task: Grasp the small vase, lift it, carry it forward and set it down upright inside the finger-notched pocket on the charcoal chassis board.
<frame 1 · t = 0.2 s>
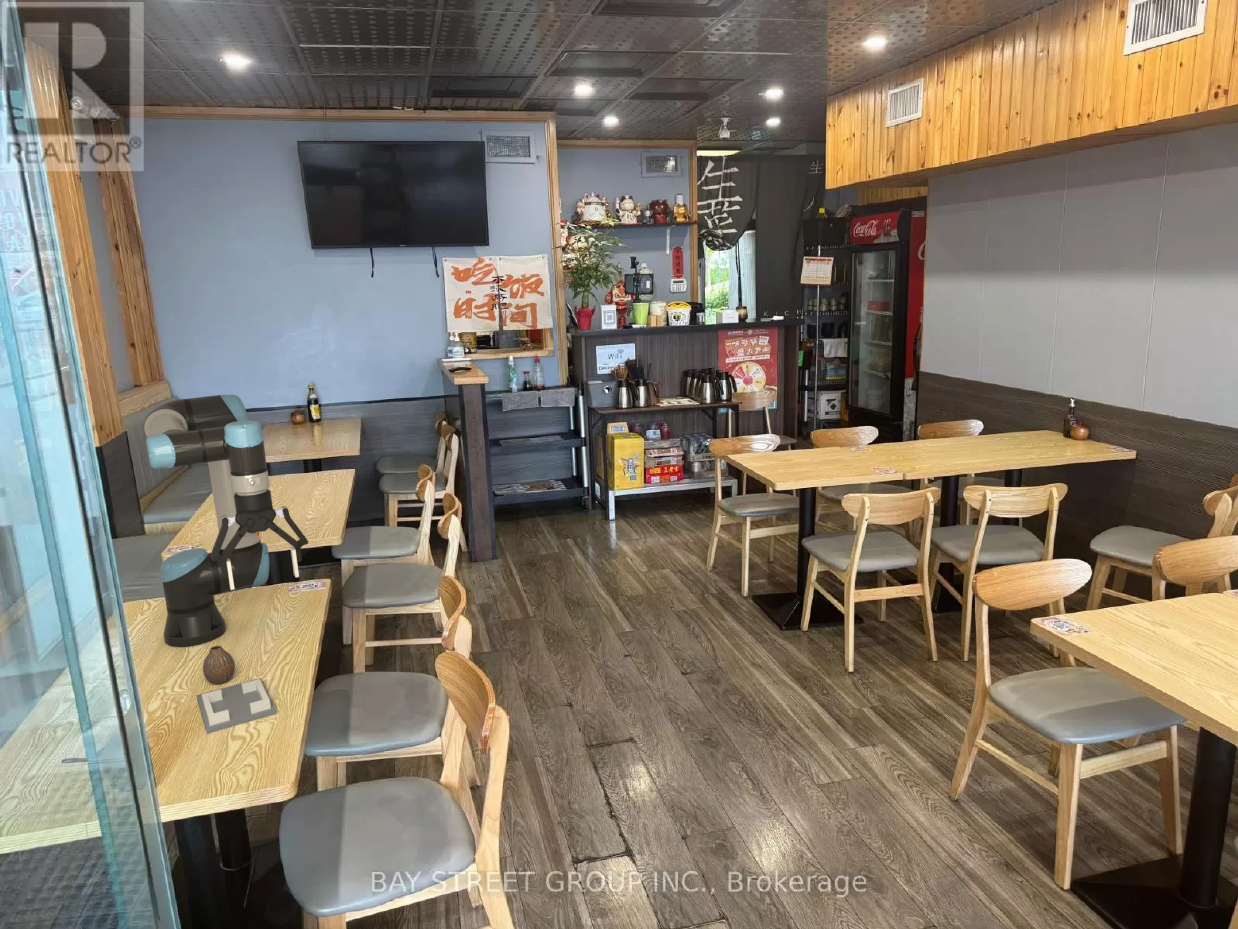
hand: (264, 581, 189), 27 cm above the table, fingers open, 13 cm apart
chassis board: (235, 706, 189), on the table
vase: (221, 681, 201), on the table
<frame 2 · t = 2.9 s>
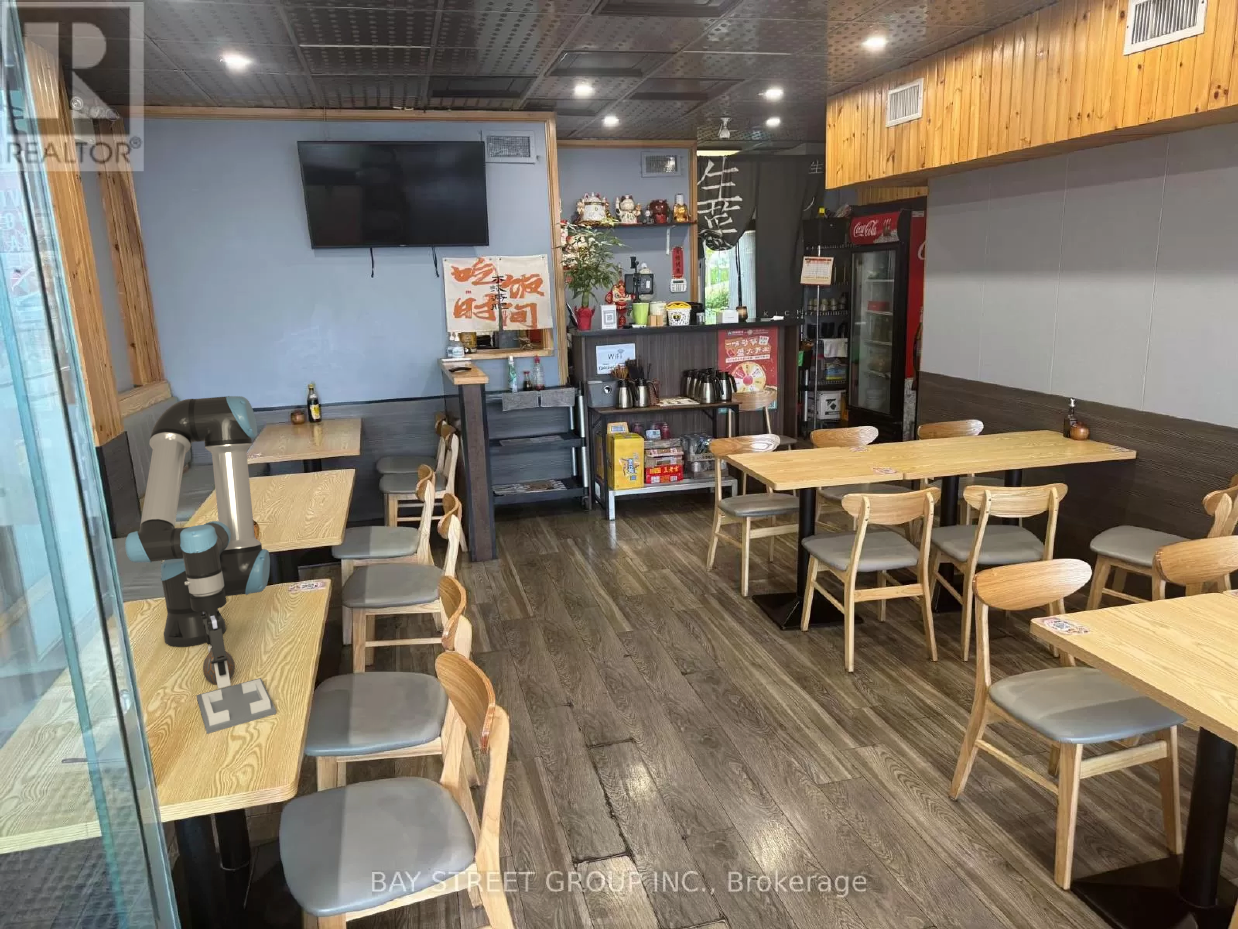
hand: (220, 678, 200), 1 cm above the table, fingers open, 11 cm apart
nothing on the table moved.
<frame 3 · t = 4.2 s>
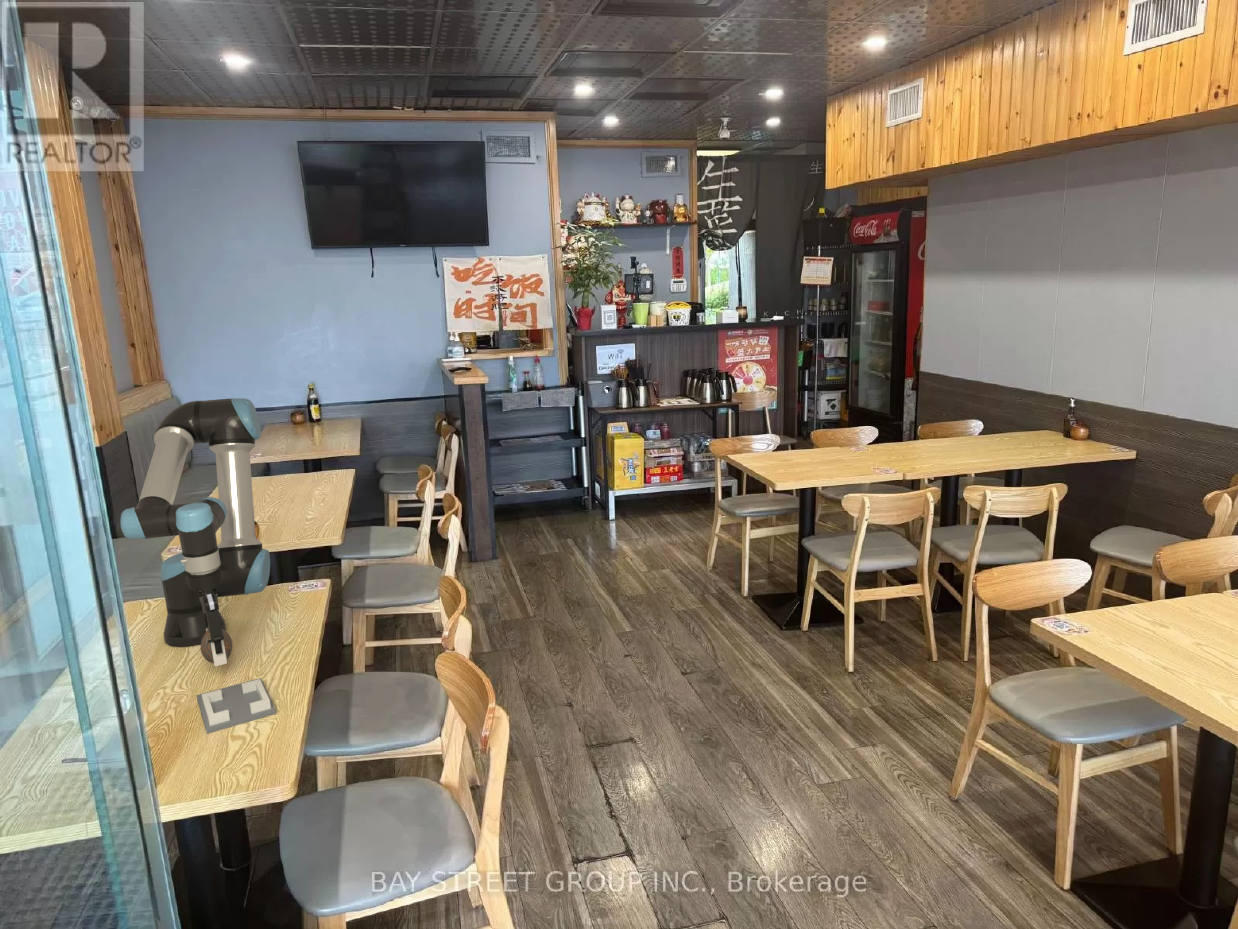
hand: (218, 658, 201), 6 cm above the table, fingers closed on vase, 7 cm apart
vase: (219, 660, 201), point 5 cm above the table, touching gripper
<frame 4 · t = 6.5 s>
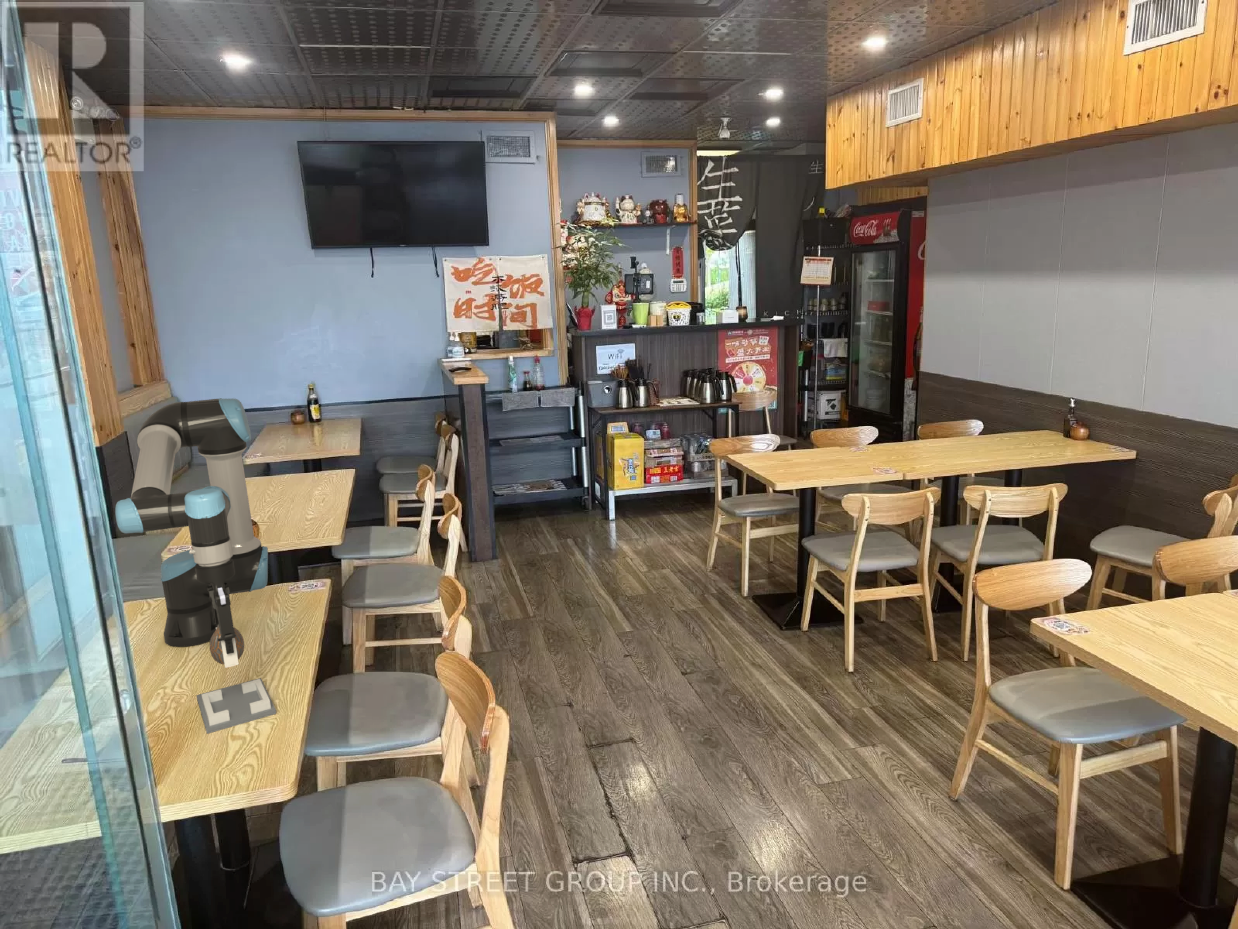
hand: (229, 659, 184), 12 cm above the table, fingers closed on vase, 7 cm apart
vase: (229, 661, 184), point 12 cm above the table, touching gripper
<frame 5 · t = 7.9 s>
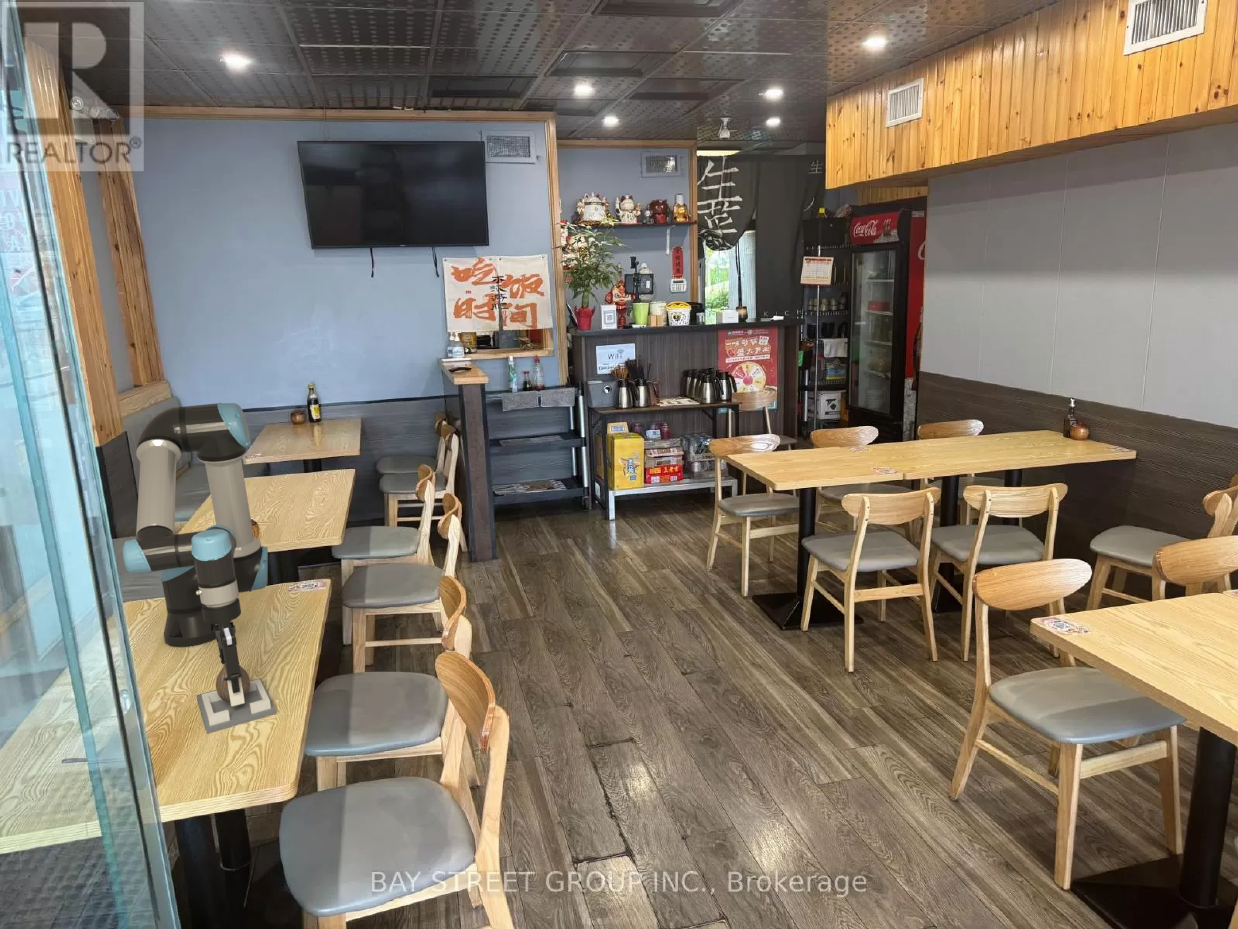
hand: (235, 697, 186), 3 cm above the table, fingers closed on vase, 7 cm apart
vase: (235, 699, 186), point 3 cm above the table, touching gripper
when the fingers open (2 cm above the table, at t = 9.0 s): vase stays where it is, resting on chassis board.
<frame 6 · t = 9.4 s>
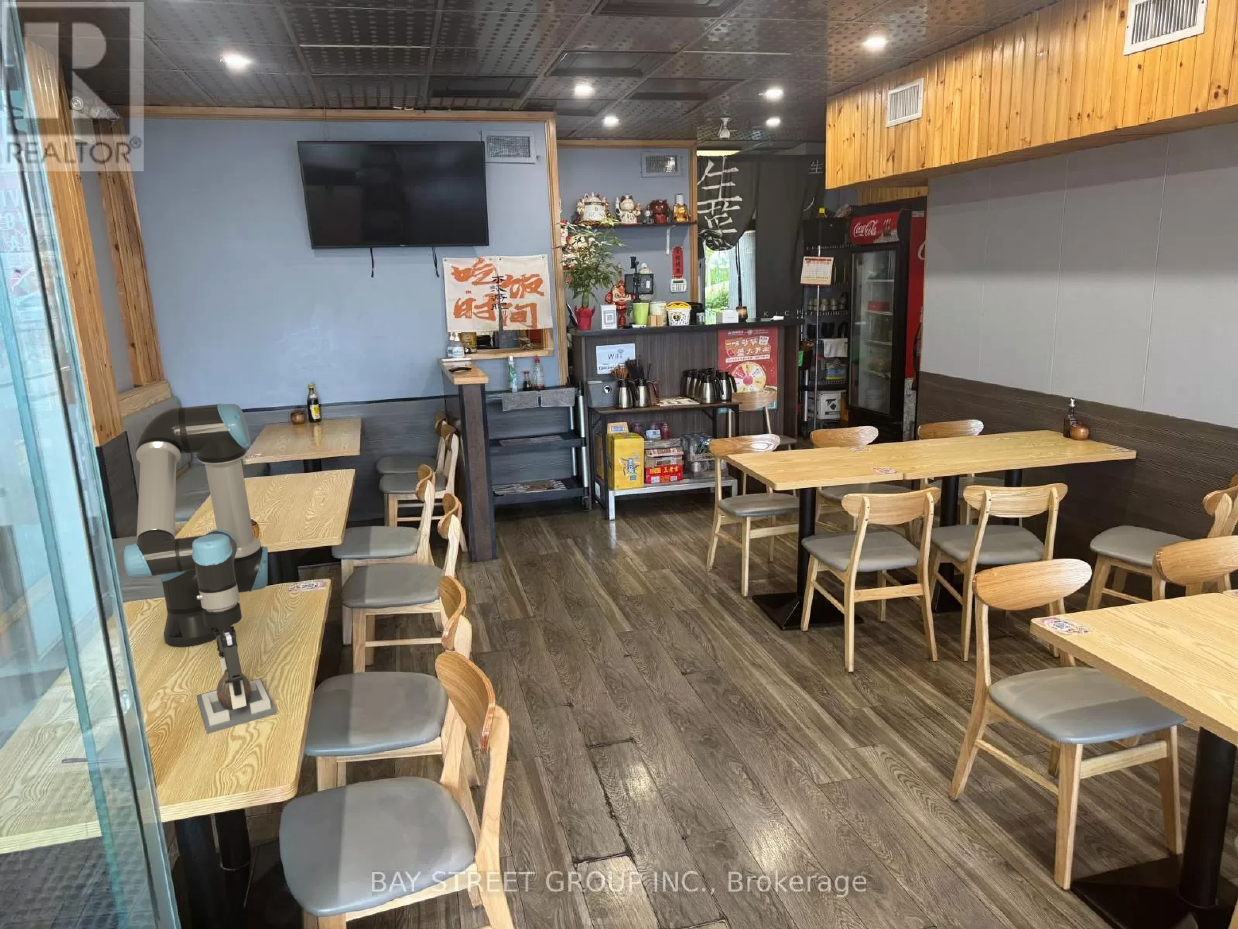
hand: (234, 695, 186), 4 cm above the table, fingers open, 13 cm apart
vase: (236, 706, 187), point 1 cm above the table, touching chassis board
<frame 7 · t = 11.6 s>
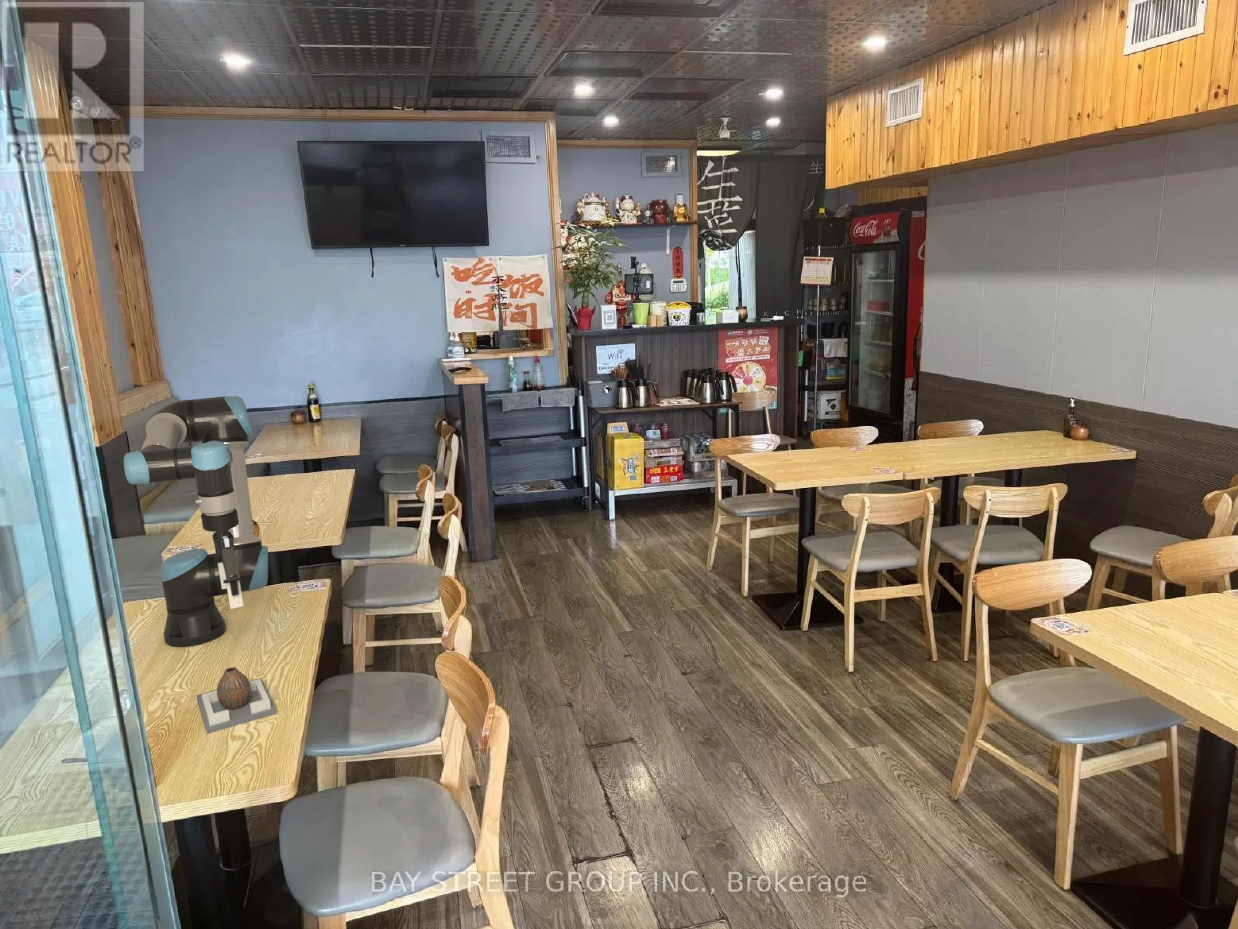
hand: (232, 597, 195), 22 cm above the table, fingers open, 13 cm apart
nothing on the table moved.
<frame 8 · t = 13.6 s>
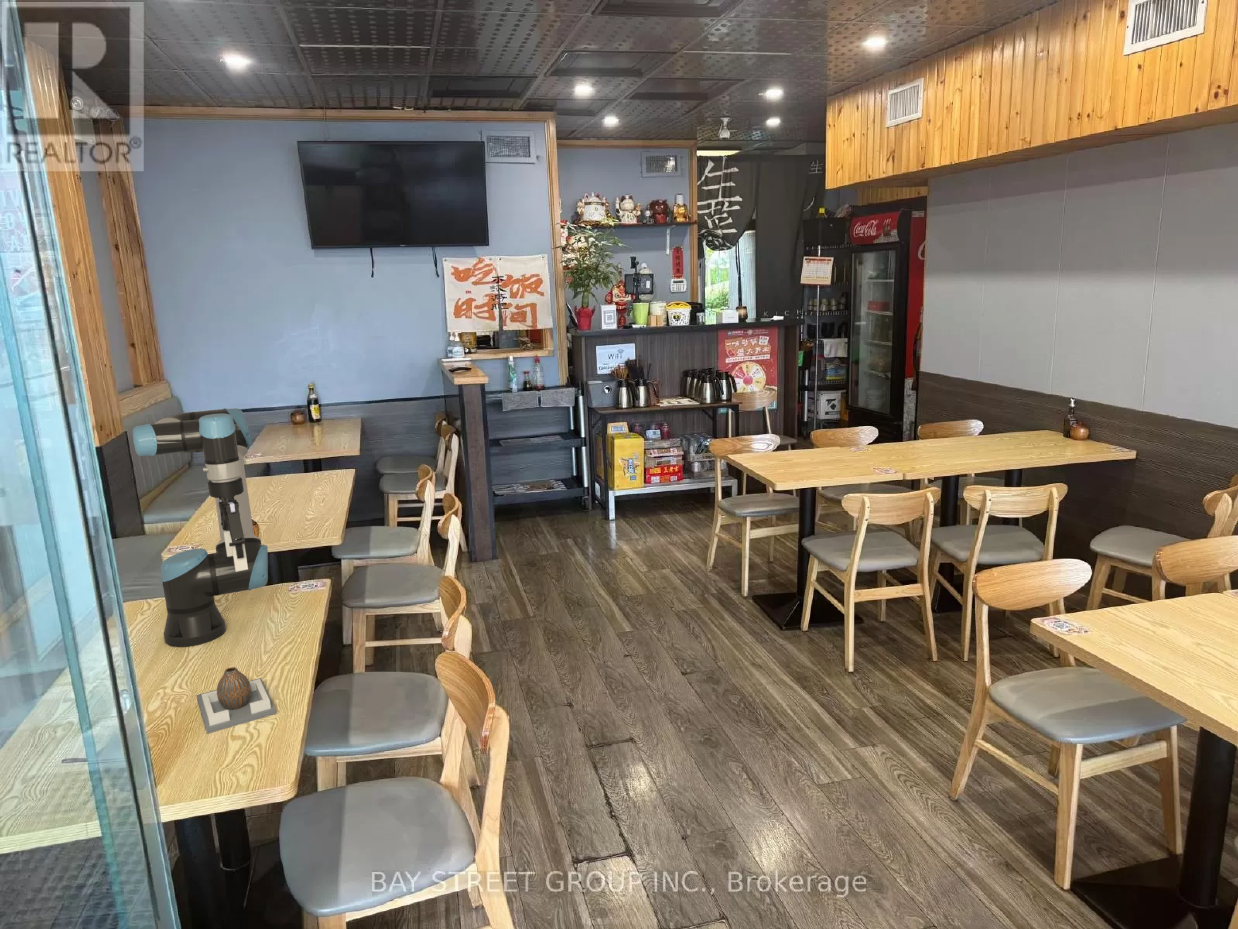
hand: (237, 562, 205), 27 cm above the table, fingers open, 13 cm apart
nothing on the table moved.
at the end: vase inside the target area (0.1 cm from its centre), point 1.0 cm above the table; vase tilted 0°; the gripper is holding nothing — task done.
